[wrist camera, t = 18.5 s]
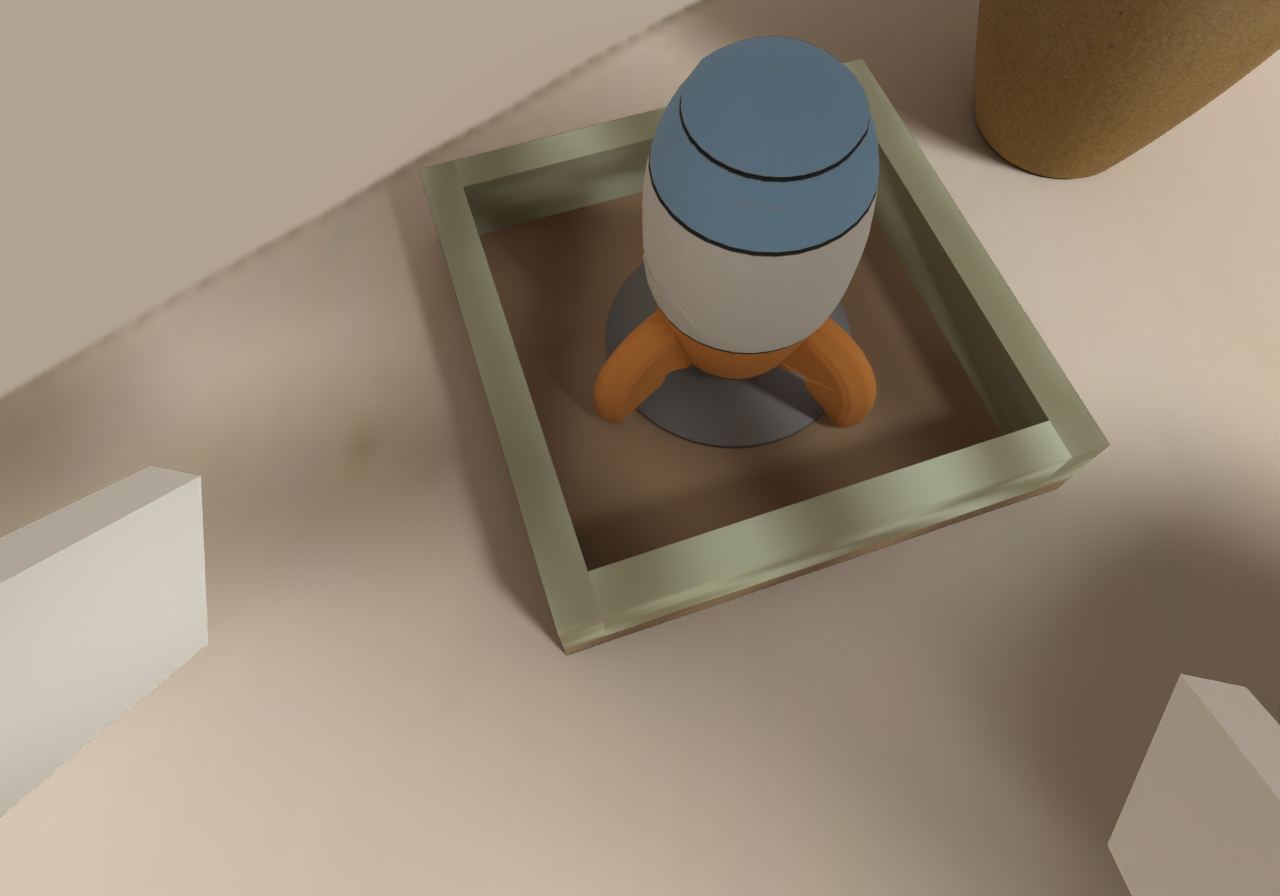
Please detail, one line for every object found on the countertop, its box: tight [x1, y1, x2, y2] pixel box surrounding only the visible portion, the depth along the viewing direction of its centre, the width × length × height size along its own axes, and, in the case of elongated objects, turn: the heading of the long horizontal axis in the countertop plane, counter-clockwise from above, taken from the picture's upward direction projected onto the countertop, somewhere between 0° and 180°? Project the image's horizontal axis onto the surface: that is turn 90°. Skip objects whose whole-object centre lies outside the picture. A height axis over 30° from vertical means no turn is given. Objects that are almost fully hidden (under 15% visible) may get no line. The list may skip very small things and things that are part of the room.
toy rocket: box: [593, 36, 879, 428], centre depth 28 cm, size 10×11×15 cm
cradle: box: [419, 58, 1110, 655], centre depth 33 cm, size 20×20×4 cm
